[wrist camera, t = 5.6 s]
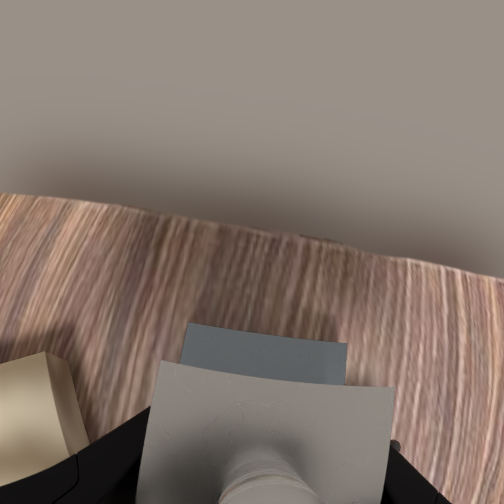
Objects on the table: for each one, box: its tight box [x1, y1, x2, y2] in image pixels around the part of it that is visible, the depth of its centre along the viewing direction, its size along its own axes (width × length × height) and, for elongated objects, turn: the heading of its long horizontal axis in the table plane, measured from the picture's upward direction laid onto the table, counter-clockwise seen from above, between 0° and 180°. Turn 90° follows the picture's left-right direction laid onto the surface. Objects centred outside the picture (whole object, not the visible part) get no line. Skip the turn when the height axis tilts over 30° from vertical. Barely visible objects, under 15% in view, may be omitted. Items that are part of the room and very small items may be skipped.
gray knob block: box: [135, 360, 395, 504], centre depth 6 cm, size 4×4×8 cm
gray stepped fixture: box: [179, 322, 401, 452], centre depth 12 cm, size 12×12×8 cm
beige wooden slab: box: [0, 351, 90, 486], centre depth 11 cm, size 14×16×3 cm
